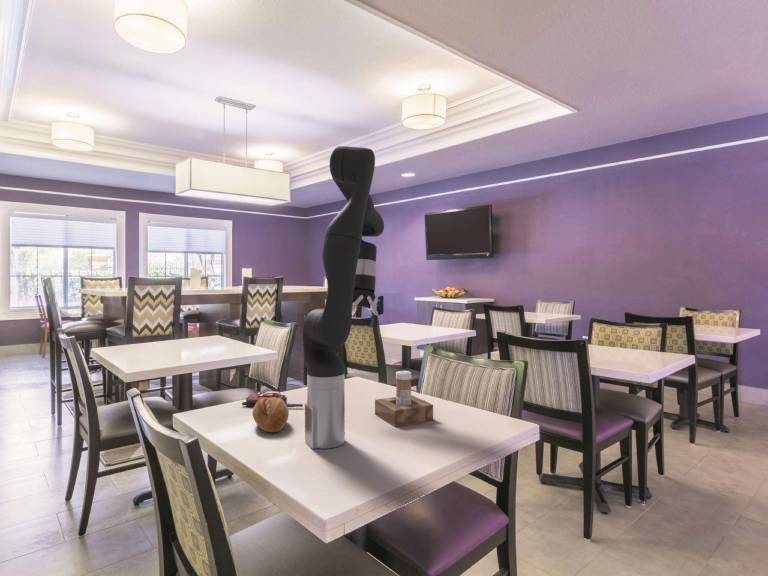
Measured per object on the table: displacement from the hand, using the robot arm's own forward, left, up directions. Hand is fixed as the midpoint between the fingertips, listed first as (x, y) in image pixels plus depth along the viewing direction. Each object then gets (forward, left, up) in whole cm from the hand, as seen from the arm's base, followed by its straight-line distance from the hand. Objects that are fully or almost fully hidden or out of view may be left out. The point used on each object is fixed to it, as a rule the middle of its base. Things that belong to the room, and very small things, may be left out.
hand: (360, 326), depth 139 cm
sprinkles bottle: (+8, -13, -26) cm, 30 cm away
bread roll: (-29, -4, -26) cm, 39 cm away
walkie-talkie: (-23, +17, -27) cm, 39 cm away
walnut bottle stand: (+8, -13, -26) cm, 30 cm away
